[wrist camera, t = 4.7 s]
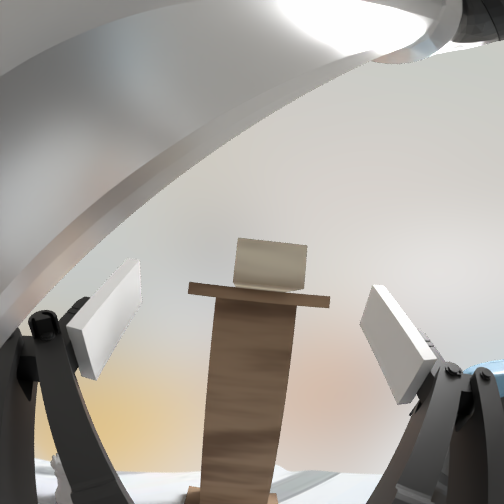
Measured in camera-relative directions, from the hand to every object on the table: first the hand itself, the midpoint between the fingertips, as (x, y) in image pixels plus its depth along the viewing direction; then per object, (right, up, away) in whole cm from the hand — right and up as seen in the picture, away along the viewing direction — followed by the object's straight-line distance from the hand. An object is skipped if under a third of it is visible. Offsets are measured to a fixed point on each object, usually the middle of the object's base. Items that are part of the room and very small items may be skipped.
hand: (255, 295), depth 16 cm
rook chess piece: (-22, -28, +3) cm, 36 cm away
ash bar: (0, -1, +10) cm, 11 cm away
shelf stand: (-3, -31, +9) cm, 32 cm away
